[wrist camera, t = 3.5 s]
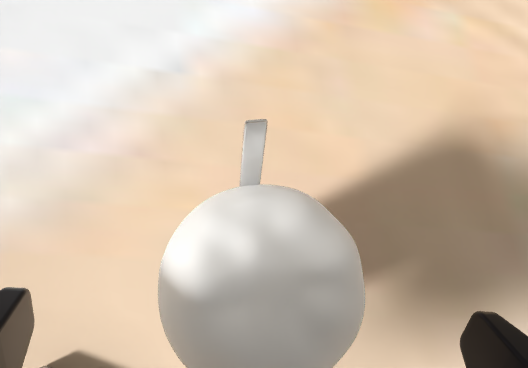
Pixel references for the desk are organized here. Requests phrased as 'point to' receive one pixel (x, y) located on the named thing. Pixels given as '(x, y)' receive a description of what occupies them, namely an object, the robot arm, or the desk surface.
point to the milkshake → (260, 277)
